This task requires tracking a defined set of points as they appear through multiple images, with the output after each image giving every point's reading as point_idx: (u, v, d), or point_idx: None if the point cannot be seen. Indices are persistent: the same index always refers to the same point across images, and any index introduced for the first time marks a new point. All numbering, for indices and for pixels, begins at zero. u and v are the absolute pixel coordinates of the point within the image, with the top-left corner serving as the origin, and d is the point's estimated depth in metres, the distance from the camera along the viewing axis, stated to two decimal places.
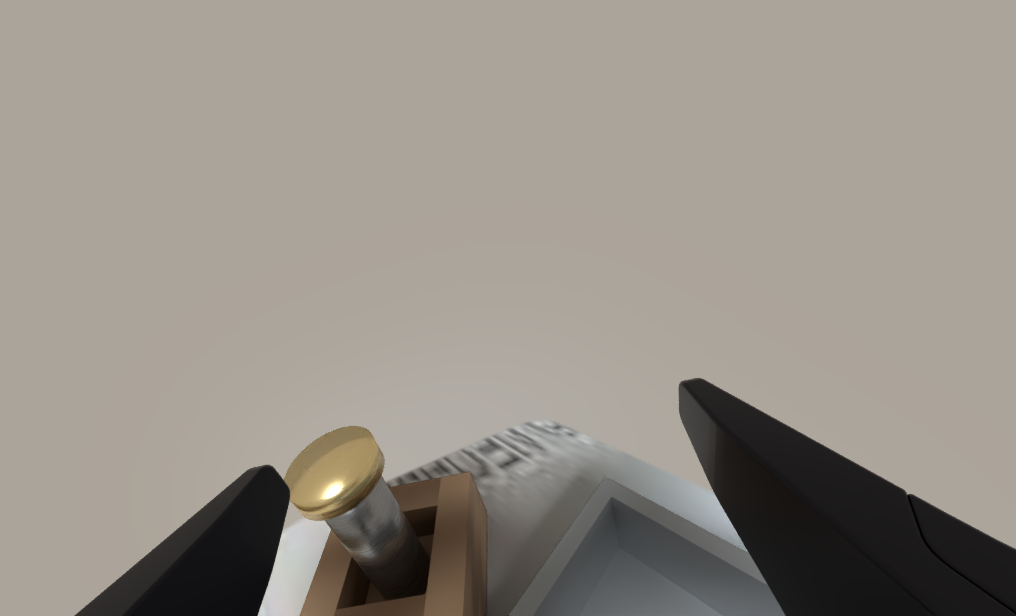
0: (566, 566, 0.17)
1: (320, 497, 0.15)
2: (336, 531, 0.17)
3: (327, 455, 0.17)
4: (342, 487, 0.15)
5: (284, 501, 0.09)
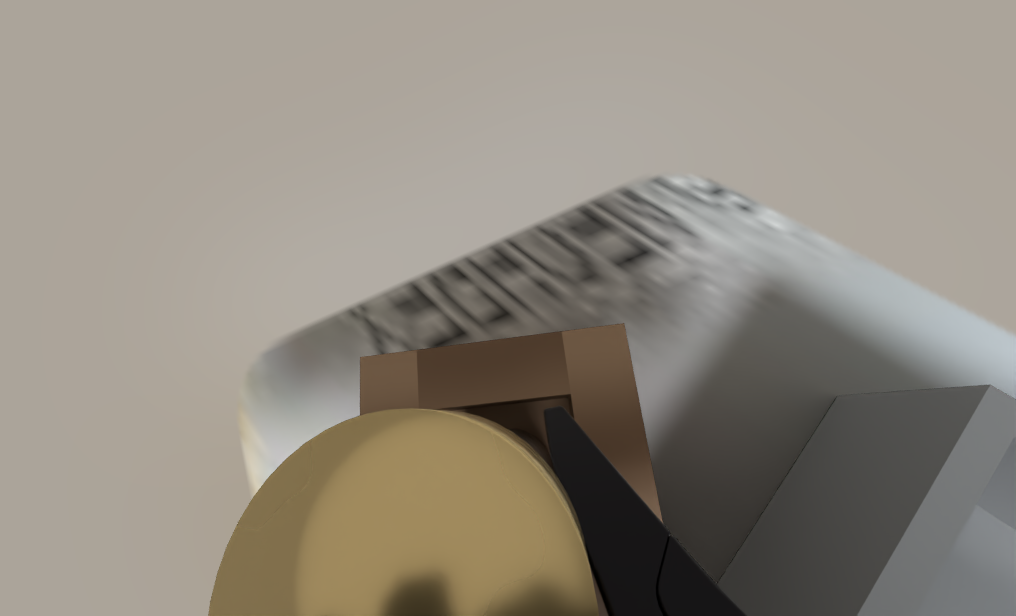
0: (924, 586, 0.08)
1: None
2: None
3: (368, 581, 0.04)
4: None
5: None
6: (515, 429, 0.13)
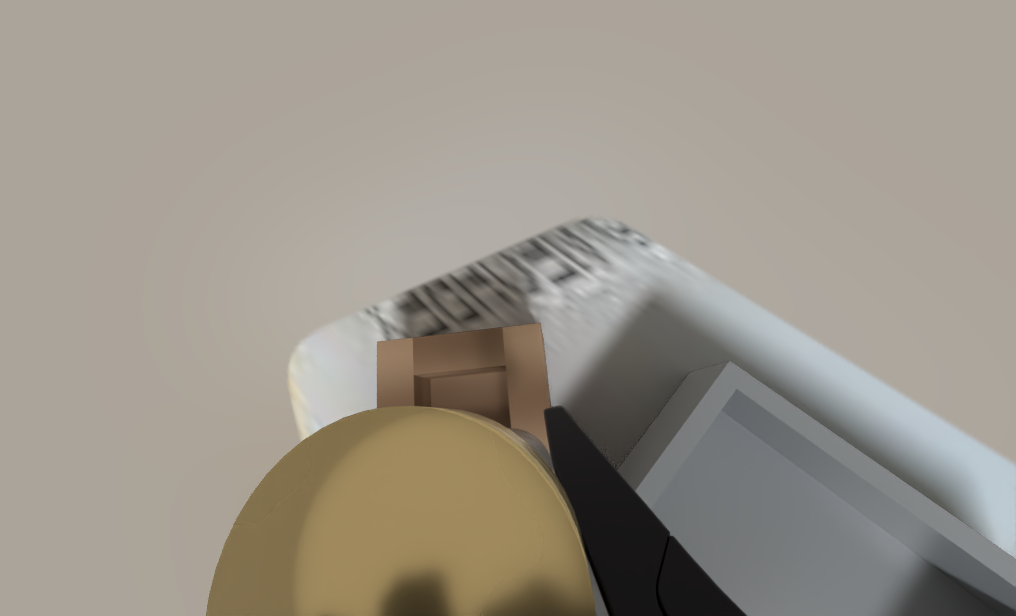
0: (680, 465, 0.15)
1: None
2: None
3: (365, 578, 0.04)
4: None
5: None
6: (514, 428, 0.13)
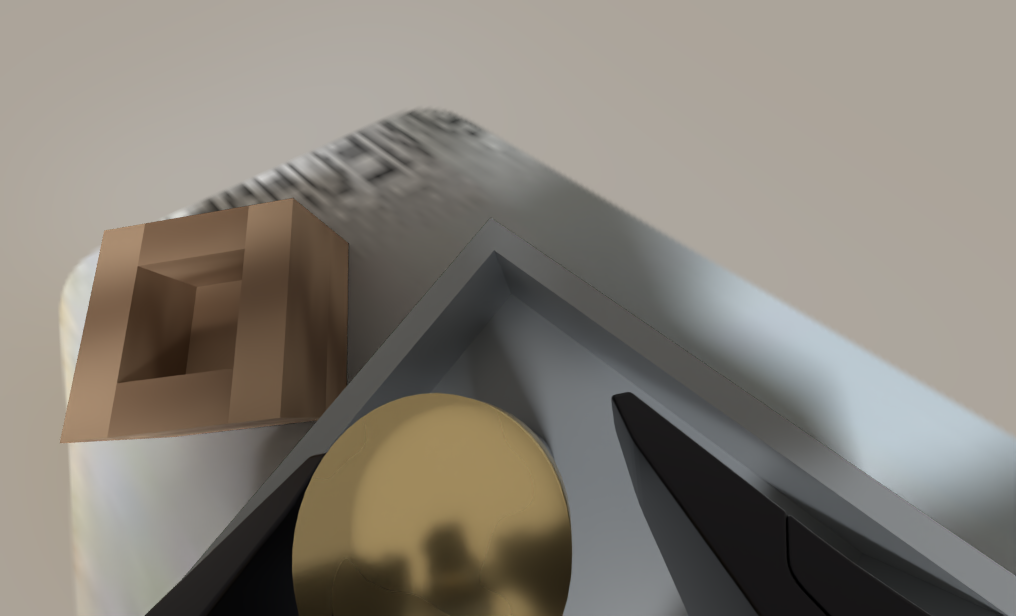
0: (413, 348, 0.11)
1: None
2: None
3: (408, 515, 0.05)
4: None
5: None
6: None
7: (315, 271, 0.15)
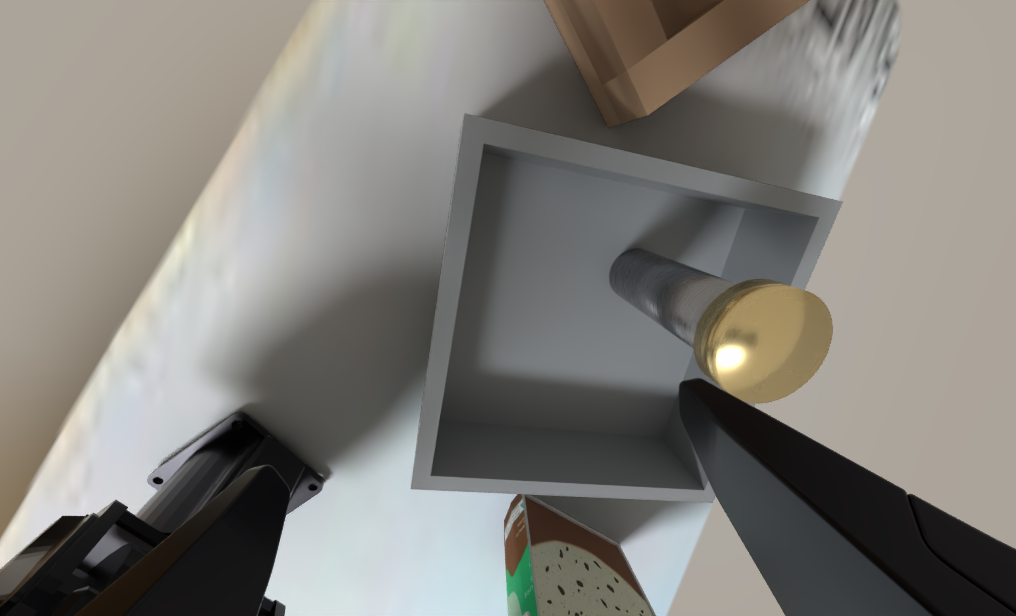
0: (740, 200, 0.16)
1: (727, 386, 0.12)
2: (679, 325, 0.14)
3: (781, 337, 0.12)
4: (743, 398, 0.12)
5: (284, 501, 0.09)
6: None
7: None
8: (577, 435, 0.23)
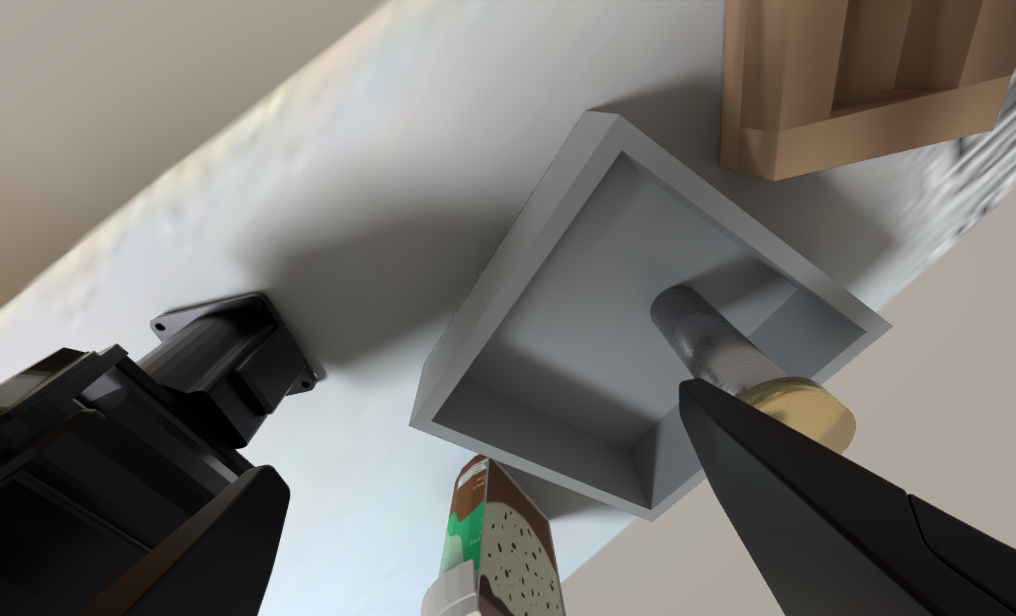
0: (812, 291, 0.16)
1: None
2: (714, 384, 0.15)
3: None
4: None
5: (284, 501, 0.09)
6: None
7: None
8: (559, 424, 0.25)
